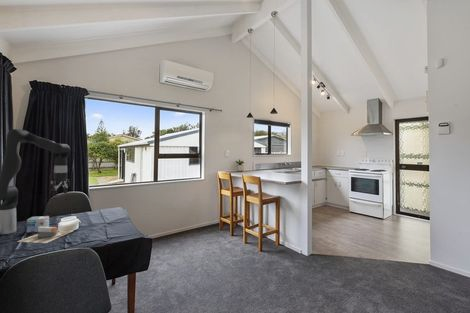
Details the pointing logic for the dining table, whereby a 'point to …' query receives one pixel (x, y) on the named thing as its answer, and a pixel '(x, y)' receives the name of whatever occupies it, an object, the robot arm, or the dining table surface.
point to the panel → (44, 240)
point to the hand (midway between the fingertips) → (60, 194)
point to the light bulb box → (37, 223)
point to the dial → (46, 232)
